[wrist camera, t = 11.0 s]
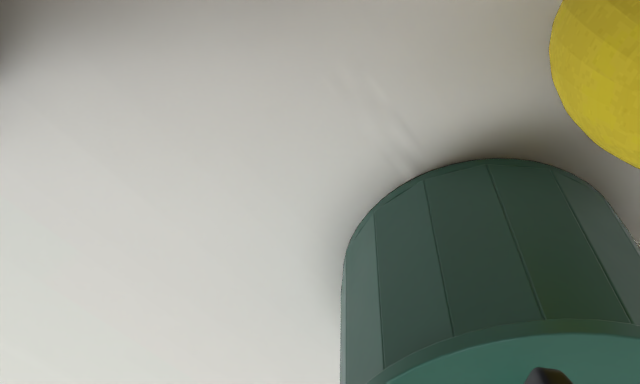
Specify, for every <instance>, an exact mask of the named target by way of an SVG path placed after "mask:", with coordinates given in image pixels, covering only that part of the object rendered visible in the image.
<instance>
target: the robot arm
mask: <svg viewBox="0 0 640 384" xmlns="http://www.w3.org/2000/svg"><path fill="white" fill-rule="evenodd" d="M524 384H573V382H572V381H571V380H570V379H569V378H568V377H567V376H566V375H565V374H564V373H563V372H562V371H560V370H557V369H550V368H543V367H536V368H534V369H533V370H532V371H531V372H530V374H529V376H528V377H527V379H526V381H525V382H524Z"/></svg>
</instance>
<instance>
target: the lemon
mask: <svg viewBox="0 0 640 384" xmlns="http://www.w3.org/2000/svg"><path fill="white" fill-rule="evenodd" d="M549 56H550V65H551V74H552V79H553V82H554V85H555V87H556V90H557V92H558V94H559V96H560V99H561V101H562V103H563V106H564V108H565V110H566V111H567V113H568V115H569V116H570V117H571V118H572V119H573V121H574V122H575V123H576V124H577V125H578V126H579V127H580V128H581V129H582V130H583V131H584V133H585V134H586V135H587V136H588V137H589V138H590V139H591V140H592V141H593V142H594V143H596V144H597V145H598V146H600V147H601V148H602V149H604V150H605V151H607V152H609V153H610V154H612V155H614V156H616V157H617V158H619V159H621V160H623V161H624V162H626V163H628V164H630V165H632V166H634V167H636V168H638V169H640V0H563V1H562V3H561V5H560V8H559V10H558V12H557V15H556V17H555V19H554V22H553V26H552V32H551V38H550V45H549Z"/></svg>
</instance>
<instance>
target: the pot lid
mask: <svg viewBox="0 0 640 384" xmlns="http://www.w3.org/2000/svg"><path fill="white" fill-rule="evenodd" d="M536 367H543V368H550V369H557V370H560V371H562V372H563V373H564V374H565V375H566V376H567V377H568V378H569V379H570V380H571V381H572V382H573V384H640V326H639V325H634V324H630V323H622V322H614V321H606V320H596V319H549V320H532V321H525V322H518V323H511V324H504V325H498V326H493V327H489V328H485V329H480V330H476V331H472V332H467V333H464V334H461V335H458V336H455V337H452V338H449V339H446V340H443V341H440V342H437V343H435V344H432V345H430V346H428V347H425V348H423V349H421V350H419V351H416V352H414V353H412V354H410V355H408V356H406V357H404V358H403V359H401V360H399V361H397V362H396V363H394V364H392V365H390V366H388V367H387V368H386V369H384V370H383V371H382V372H380V373H379V374H377V375H376V376H375V377H373V378H372V379H371V380H369V381H368V382H367V383H366V384H524V382H525V381H526V379H527V377H528V376H529V374H530V372H531V371H532V370H533V369H534V368H536Z"/></svg>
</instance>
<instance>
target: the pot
mask: <svg viewBox="0 0 640 384" xmlns="http://www.w3.org/2000/svg"><path fill="white" fill-rule="evenodd" d="M549 319H596V320H606V321H614V322H622V323H630V324H634V325H639V326H640V249H639V247H638V246H637V244H636V243H635V241H634V239H633V238H632V236H631V235H630V233H629V232H628V230H627V229H626V227H625V226H624V224H623V223H622V222H621V220H620V219H619V218H618V216H617V215H616V213H615V212H614V210H613V209H612V207H611V206H610V204H609V203H608V202H607V201H606V200H605V198H604V197H603V196H602V195H601V194H600V193H599V192H598V191H597V190H595V189H594V188H593V187H592V186H591V185H589V184H588V183H587V182H585V181H583V180H582V179H580V178H578V177H577V176H575V175H573V174H571V173H569V172H566V171H564V170H561V169H559V168H556V167H554V166H550V165H546V164H542V163H539V162H535V161H527V160H520V159H499V158H493V159H482V160H472V161H467V162H462V163H457V164H452V165H449V166H446V167H442V168H439V169H436V170H433V171H430V172H428V173H426V174H423V175H421V176H419V177H416V178H414V179H412V180H411V181H409V182H407V183H405V184H404V185H402V186H400V187H398V188H397V189H395V190H394V191H393V192H391V193H390V194H389V195H387V196H386V197H385V198H383V199H382V200H381V201H380V202H379V203H378V204H377V205H376V206H375V207H374V208H373V209H372V210H371V211H370V212H369V213H368V214H367V215H366V217H365V218H364V219H363V220H362V222H361V223H360V224H359V226H358V227H357V229H356V231H355V233H354V234H353V236H352V238H351V240H350V243H349V245H348V248H347V250H346V255H345V259H344V264H343V280H342V288H341V349H340V384H366V383H367V382H368V381H369V380H371V379H372V378H373V377H375V376H376V375H377V374H379V373H380V372H382V371H383V370H384V369H386V368H387V367H388V366H390V365H392V364H394V363H396V362H397V361H399V360H401V359H403V358H404V357H406V356H408V355H410V354H412V353H414V352H416V351H419V350H421V349H423V348H425V347H428V346H430V345H432V344H435V343H437V342H440V341H443V340H446V339H449V338H452V337H455V336H458V335H461V334H464V333H467V332H472V331H476V330H480V329H485V328H489V327H493V326H498V325H504V324H511V323H518V322H525V321H532V320H549Z"/></svg>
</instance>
